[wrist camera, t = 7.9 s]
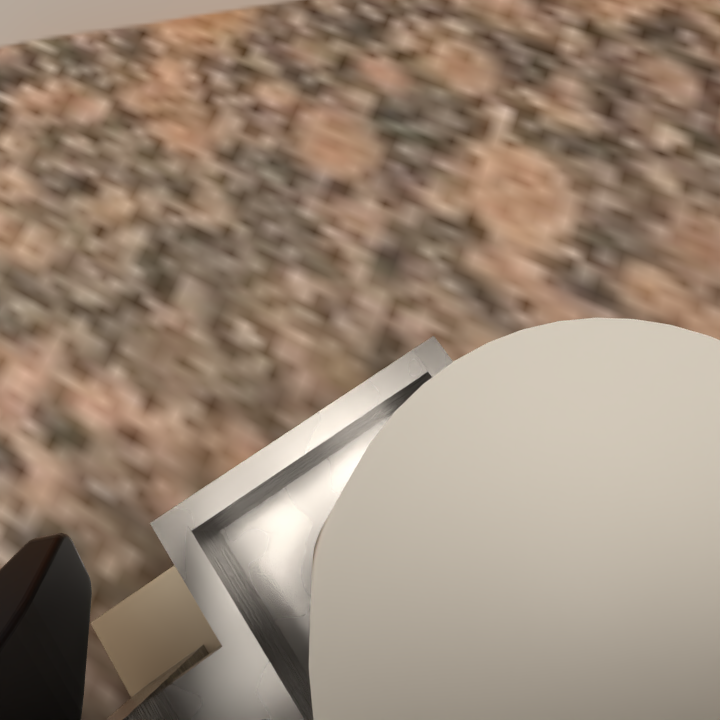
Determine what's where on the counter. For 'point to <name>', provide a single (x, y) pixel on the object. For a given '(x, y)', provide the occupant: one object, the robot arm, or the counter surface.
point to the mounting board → (153, 630)
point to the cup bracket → (268, 557)
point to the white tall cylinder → (532, 538)
